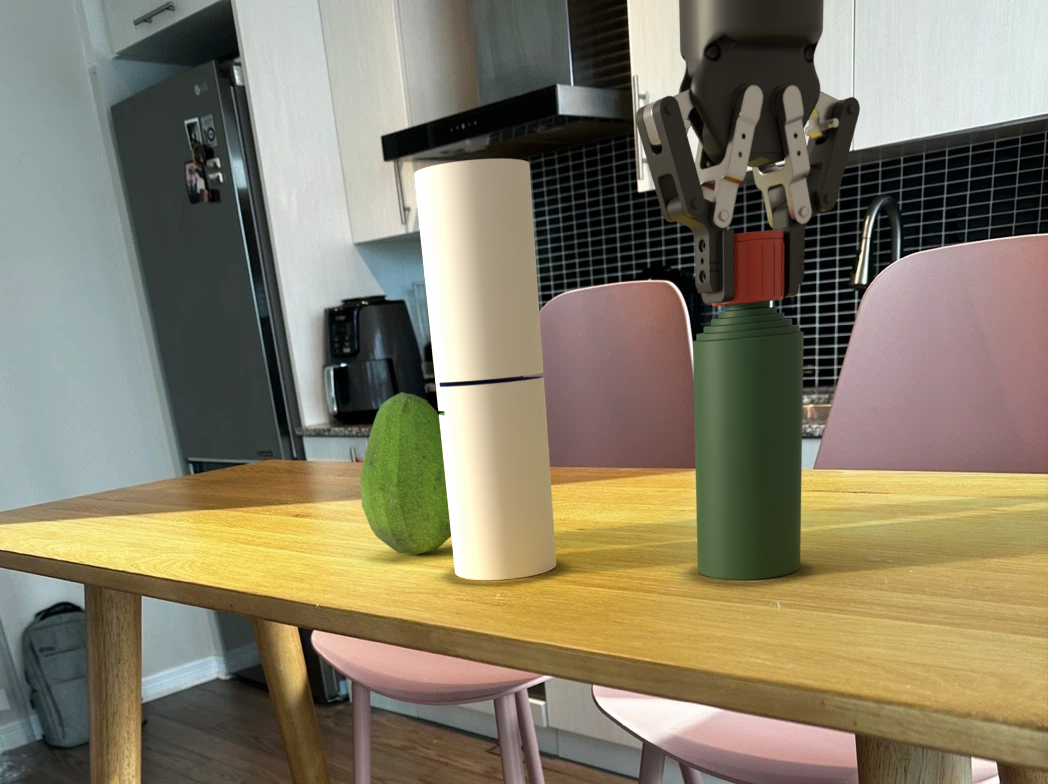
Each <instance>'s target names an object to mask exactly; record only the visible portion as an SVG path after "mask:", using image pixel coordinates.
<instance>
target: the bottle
mask: <svg viewBox="0 0 1048 784" xmlns="http://www.w3.org/2000/svg"><path fill="white" fill-rule="evenodd" d="M777 309H778V308H777V306H771V301H763V302H752V303H742V304H731V305H724V311H718V318H713V319H710V325H708V326H704V327H703V332H702V333H701V332H700V333H696V334H695V335H696V336H695V337H696V340H693V341H692V361H693V362H692V364H693V365H692V368H693V371H692V373H693V412H694V413H693V414H694V416H693V418H694V419H693V420H694V457H695V458H694V459H695V461H694V463H695V464H694V465H695V503H696V504H695V505H696V507H695V509H696V550H697V552H696V553H697V571H698V573H699V574H701V575H703V576H705V577H707V578H708V577H709V578H713V579H720V580H732V581H749V580H750V581H753V580H766V579H774V578H778V577H782V576H783V577H784V576H787V575H789V574H792V573H794V572H796V571H798V570H799V569H800V567H801V539H802V537H801V536H802V534H801V533H802V472H803V471H802V465H803V460H802V459H803V401H804V400H803V396H804V395H803V394H804V393H803V391H804V390H803V389H804V387H803V386H804V331H800V328H801V327H800V324H793V319H792V318H785V312H777Z"/></svg>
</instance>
